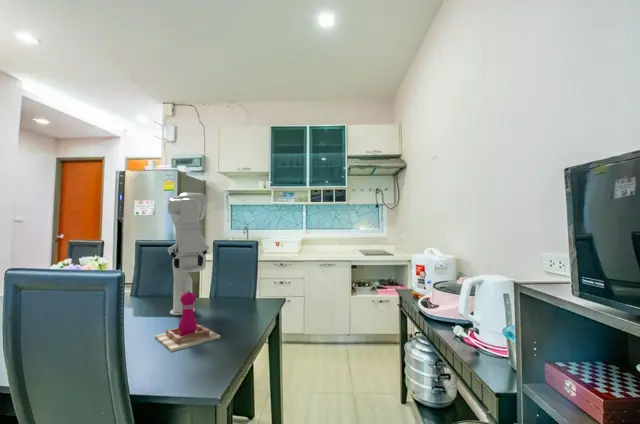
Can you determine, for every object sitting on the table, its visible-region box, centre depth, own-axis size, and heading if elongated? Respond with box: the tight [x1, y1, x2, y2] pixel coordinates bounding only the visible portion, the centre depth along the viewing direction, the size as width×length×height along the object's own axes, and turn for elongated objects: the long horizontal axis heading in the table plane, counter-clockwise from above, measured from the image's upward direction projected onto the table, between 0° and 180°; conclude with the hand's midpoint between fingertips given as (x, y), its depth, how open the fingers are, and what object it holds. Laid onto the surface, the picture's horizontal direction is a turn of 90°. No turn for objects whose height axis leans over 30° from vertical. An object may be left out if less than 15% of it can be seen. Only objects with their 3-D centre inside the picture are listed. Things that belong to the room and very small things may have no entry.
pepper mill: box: [177, 289, 198, 336], centre depth 129 cm, size 7×7×20 cm
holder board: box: [154, 323, 221, 352], centre depth 130 cm, size 20×20×3 cm
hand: (188, 266), depth 131 cm, fingers open, 9 cm apart
